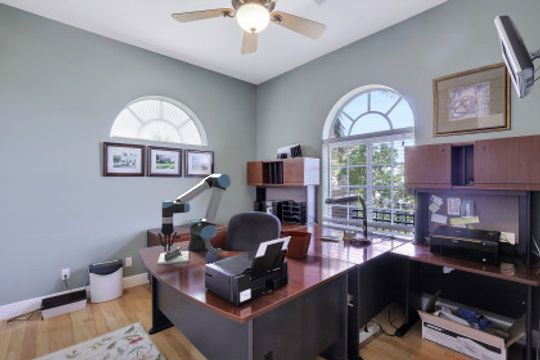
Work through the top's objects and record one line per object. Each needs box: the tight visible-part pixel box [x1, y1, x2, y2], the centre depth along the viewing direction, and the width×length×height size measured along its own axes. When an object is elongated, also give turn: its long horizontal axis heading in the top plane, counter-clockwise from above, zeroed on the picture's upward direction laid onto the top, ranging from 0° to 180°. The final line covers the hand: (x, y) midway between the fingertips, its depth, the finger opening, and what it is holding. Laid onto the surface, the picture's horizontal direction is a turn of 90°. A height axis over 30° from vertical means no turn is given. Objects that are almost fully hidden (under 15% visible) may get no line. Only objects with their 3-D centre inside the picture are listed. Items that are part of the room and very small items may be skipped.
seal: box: [204, 232, 223, 264], centre depth 175 cm, size 8×12×20 cm
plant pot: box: [279, 230, 313, 260], centre depth 193 cm, size 19×19×17 cm
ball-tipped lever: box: [165, 246, 182, 261], centre depth 184 cm, size 19×4×4 cm, turn 170°
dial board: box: [156, 250, 190, 266], centre depth 185 cm, size 20×22×2 cm
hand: (167, 255), depth 180 cm, fingers closed
